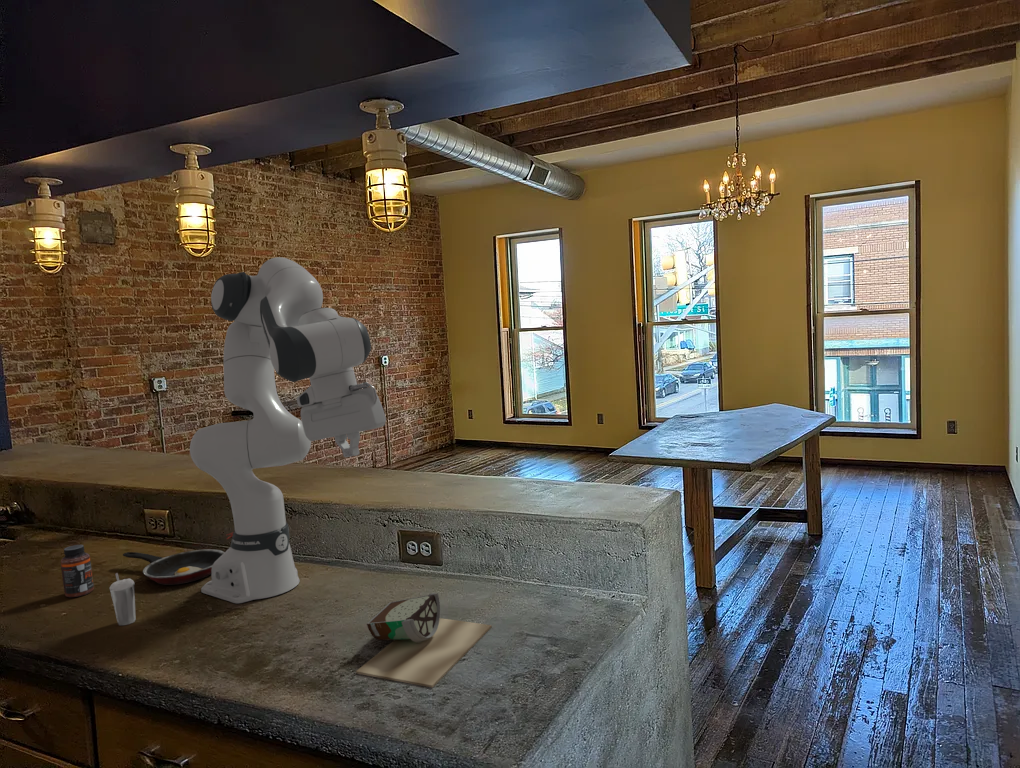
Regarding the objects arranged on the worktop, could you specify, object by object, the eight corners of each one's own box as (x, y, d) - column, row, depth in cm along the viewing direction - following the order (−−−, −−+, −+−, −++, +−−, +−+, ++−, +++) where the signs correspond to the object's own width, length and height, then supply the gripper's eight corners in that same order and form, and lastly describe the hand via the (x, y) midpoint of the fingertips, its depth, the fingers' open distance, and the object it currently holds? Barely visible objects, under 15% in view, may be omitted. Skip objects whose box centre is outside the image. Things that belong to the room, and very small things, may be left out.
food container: (371, 660, 123) (420, 654, 120) (362, 627, 123) (411, 620, 120) (401, 628, 135) (447, 622, 132) (393, 599, 134) (439, 592, 131)
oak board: (356, 673, 116) (356, 671, 116) (423, 617, 136) (423, 615, 136) (432, 687, 110) (432, 685, 110) (491, 627, 130) (491, 625, 130)
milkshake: (134, 614, 148) (128, 569, 147) (142, 621, 144) (136, 575, 143) (110, 622, 145) (104, 576, 144) (118, 629, 141) (111, 582, 140)
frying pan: (181, 593, 158) (179, 577, 158) (91, 579, 172) (89, 565, 172) (243, 564, 175) (242, 550, 175) (158, 553, 189) (156, 540, 189)
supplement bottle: (93, 594, 161) (86, 548, 160) (63, 600, 159) (56, 553, 158) (95, 586, 167) (89, 541, 166) (67, 592, 164) (60, 546, 163)
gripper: (383, 377, 135) (400, 445, 135) (314, 395, 146) (329, 458, 147) (360, 382, 130) (378, 453, 130) (290, 400, 141) (307, 465, 141)
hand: (352, 456), depth 138 cm, fingers closed
